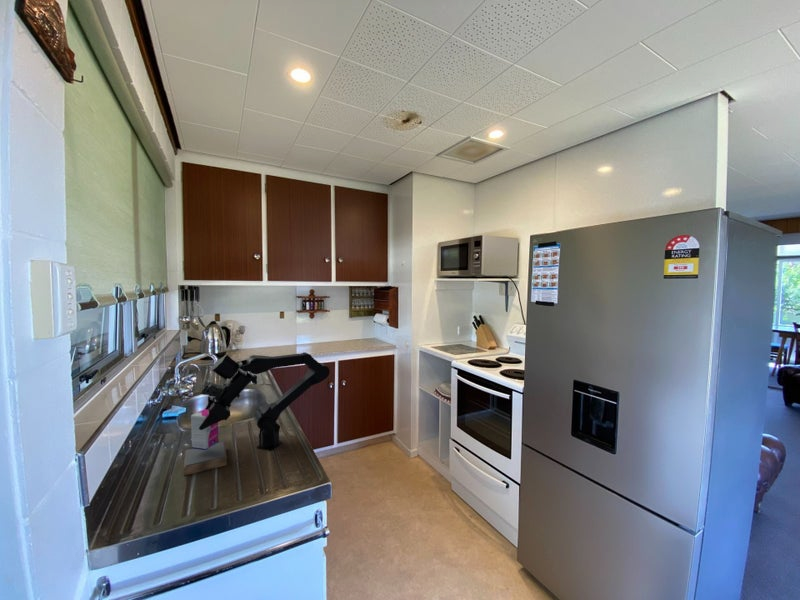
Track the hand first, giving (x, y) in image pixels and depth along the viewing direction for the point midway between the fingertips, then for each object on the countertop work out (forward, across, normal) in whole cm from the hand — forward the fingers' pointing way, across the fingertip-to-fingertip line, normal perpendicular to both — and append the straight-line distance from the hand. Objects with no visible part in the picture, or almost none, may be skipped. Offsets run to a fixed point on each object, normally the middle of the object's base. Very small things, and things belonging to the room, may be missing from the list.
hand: (199, 424), depth 111 cm
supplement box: (+4, 0, +6) cm, 8 cm away
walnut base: (+8, 0, +10) cm, 13 cm away
